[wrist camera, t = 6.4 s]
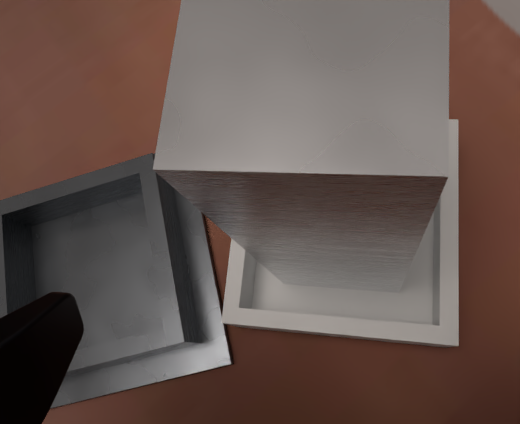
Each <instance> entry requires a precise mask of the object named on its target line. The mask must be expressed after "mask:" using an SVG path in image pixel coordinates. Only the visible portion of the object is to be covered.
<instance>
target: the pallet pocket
mask: <svg viewBox="0 0 520 424" xmlns="http://www.w3.org/2000/svg"><path fill="white" fill-rule="evenodd" d="M154 159H155V154H153V153H151V154H148V155H144V156H141V157H138V158H135V159H132V160H128V161H125V162H122V163H119V164H116V165H112V166H109V167H106V168H103V169H99V170H96V171H93V172H90V173H87V174H83V175H80V176H77V177H74V178H71V179H67V180H64V181H61V182H58V183H55V184H51V185H48V186H45V187H42V188H39V189H35V190H32V191H29V192H26V193H22V194H19V195H16V196H13V197H10V198H6V199H3V200H0V318H1V317H3V316H5V315H7V314H9V313H11V312H13V311H15V310H17V309H19V308H21V307H23V306H25V305H27V304H29V303H31V302H33V301H34V300H36V299H38V298H40V297H42V296H44V295H46V294H48V293H50V292H65V293H70V294H72V295H73V296H74V297H75V299H76V302H77V305H78V308H79V311H80V314H81V317H82V320H83V324H84V332H83V336H82V339H81V341H80V343H79V346H78V348H77V350H76V352H75V355H74V357H73V359H72V362H71V364H70V366H69V368H68V371H67V373H66V375H65V377H64V380H63V382H62V384H61V386H60V389H59V391H58V393H57V395H56V397H55V399H54V401H53V404H52V406H51V408H55V407H60V406H64V405H68V404H72V403H76V402H80V401H84V400H88V399H92V398H96V397H100V396H104V395H108V394H112V393H116V392H121V391H125V390H129V389H133V388H137V387H141V386H145V385H149V384H153V383H157V382H161V381H165V380H169V379H173V378H177V377H181V376H186V375H190V374H194V373H198V372H202V371H206V370H210V369H214V368H218V367H222V366H226V365H230V364H234V363H233V358H232V353H231V348H230V343H229V338H228V333H227V328H226V324H224V323H221V321H222V312H223V308H222V303H221V298H220V293H219V288H218V283H217V278H216V272H215V267H214V262H213V257H212V252H211V247H210V242H209V237H208V232H207V227H206V222H205V217H204V214H203V213H202V212H201V211H200V210H199V209H197V208H196V207H195V206H194V205H193V204H192V203H191V202H189V201H188V200H187V199H186V198H185V197H184V196H183V195H181V194H180V193H179V192H178V191H177V190H176V189H175V188H173V187H172V186H171V185H170V184H169V183H168V182H167V181H165V180H164V179H163V178H162V177H161V176H160V175H158V174H157V173H156V172H155V171H154V170H153V165H154ZM51 408H50V409H51Z"/></svg>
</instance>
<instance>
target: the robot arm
mask: <svg viewBox="0 0 520 424" xmlns="http://www.w3.org/2000/svg"><path fill="white" fill-rule="evenodd" d="M83 332H84V324H83V320H82V317H81V314H80V311H79V308H78V305H77V302H76V299H75V297H74V296H73V295H72V294H70V293H65V292H50V293H48V294H46V295H44V296H42V297H40V298H38V299H36V300H34V301H33V302H31V303H29V304H27V305H25V306H23V307H21V308H19V309H17V310H15V311H13V312H11V313H9V314H7V315H5V316H3V317H1V318H0V424H42V422H43V420H44V419H45V417H46V415H47V413H48V411H49V409H50V408H51V406H52V404H53V401H54V399H55V397H56V395H57V393H58V391H59V389H60V386H61V384H62V382H63V380H64V377H65V375H66V373H67V371H68V368H69V366H70V364H71V362H72V359H73V357H74V355H75V352H76V350H77V348H78V346H79V343H80V341H81V339H82V336H83Z"/></svg>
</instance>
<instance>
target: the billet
mask: <svg viewBox="0 0 520 424" xmlns="http://www.w3.org/2000/svg"><path fill="white" fill-rule="evenodd" d="M153 170H154V171H155V172H156V173H157V174H158V175H160V176H161V177H162V178H163V179H164V180H165V181H167V182H168V183H169V184H170V185H171V186H172V187H173V188H175V189H176V190H177V191H178V192H179V193H180V194H181V195H183V196H184V197H185V198H186V199H187V200H188V201H189V202H191V203H192V204H193V205H194V206H195V207H196V208H197V209H199V210H200V211H201V212H202V213H203V214H204V215H205V216H207V217H208V218H209V219H210V220H211V221H212V222H213V223H215V224H216V225H217V226H218V227H219V228H220V229H221V230H223V231H224V232H225V233H226V234H227V235H228V236H229V237H231V238H232V239H233V240H234V241H235V242H236V243H238V244H239V245H240V246H241V247H242V248H243V249H244V250H246V251H247V252H248V253H249V254H250V255H251V256H252V257H254V258H255V259H256V260H257V261H258V262H259V263H260V264H262V265H263V266H264V267H265V268H266V269H267V270H268V271H270V272H271V273H272V274H273V275H274V276H275V277H276V278H278V279H279V280H280V281H281V282H282V283H283V284H288V285H301V286H314V287H327V288H340V289H353V290H366V291H379V292H392V293H399V292H400V289H401V287H402V285H403V282H404V280H405V277H406V275H407V273H408V270H409V268H410V266H411V263H412V261H413V259H414V256H415V254H416V252H417V249H418V247H419V245H420V242H421V240H422V238H423V235H424V233H425V231H426V228H427V226H428V224H429V221H430V219H431V217H432V214H433V212H434V210H435V207H436V205H437V203H438V200H439V198H440V196H441V193H442V191H443V188H444V186H445V184H446V181H447V179H448V177H449V0H182V1H181V6H180V12H179V18H178V24H177V30H176V36H175V42H174V48H173V53H172V59H171V65H170V71H169V77H168V83H167V89H166V94H165V100H164V106H163V112H162V118H161V124H160V130H159V136H158V141H157V147H156V153H155V159H154V165H153Z"/></svg>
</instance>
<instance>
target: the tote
mask: <svg viewBox="0 0 520 424" xmlns="http://www.w3.org/2000/svg"><path fill="white" fill-rule="evenodd" d="M221 323H224V324H228V325H232V326H236V327H243V328H253V329H264V330H274V331H284V332H294V333H304V334H314V335H324V336H335V337H345V338H355V339H365V340H375V341H385V342H395V343H406V344H416V345H426V346H436V347H446V348H449V347H456V346H459V276H458V120H449V177H448V179H447V181H446V184H445V186H444V188H443V191H442V193H441V196H440V198H439V200H438V203H437V205H436V207H435V210H434V212H433V214H432V217H431V219H430V221H429V224H428V226H427V228H426V231H425V233H424V235H423V238H422V240H421V242H420V245H419V247H418V249H417V252H416V254H415V256H414V259H413V261H412V263H411V266H410V268H409V270H408V273H407V275H406V277H405V280H404V282H403V285H402V287H401V289H400V292H399V293H392V292H379V291H366V290H353V289H340V288H327V287H314V286H301V285H288V284H283V283H282V282H281V281H280V280H279V279H278V278H276V277H275V276H274V275H273V274H272V273H271V272H270V271H268V270H267V269H266V268H265V267H264V266H263V265H262V264H260V263H259V262H258V261H257V260H256V259H255V258H254V257H252V256H251V255H250V254H249V253H248V252H247V251H246V250H244V249H243V248H242V247H241V246H240V245H239V244H238V243H236V242H235V241H234V240H233V239H232V238H231V246H230V255H229V263H228V271H227V279H226V288H225V296H224V304H223V312H222V321H221Z"/></svg>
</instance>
